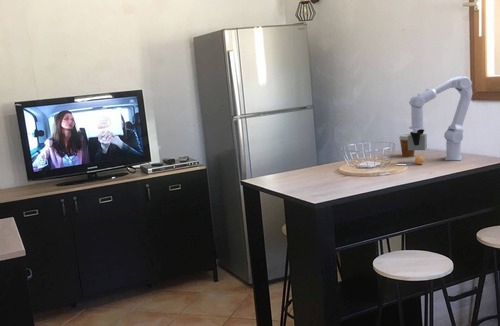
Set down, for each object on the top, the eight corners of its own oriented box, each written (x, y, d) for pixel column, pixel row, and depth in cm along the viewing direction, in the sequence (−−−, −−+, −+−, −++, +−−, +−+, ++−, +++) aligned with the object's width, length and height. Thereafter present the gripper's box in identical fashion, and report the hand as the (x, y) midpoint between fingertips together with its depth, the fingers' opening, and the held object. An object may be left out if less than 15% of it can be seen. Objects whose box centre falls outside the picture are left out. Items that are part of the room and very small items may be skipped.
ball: (416, 163, 284) (415, 155, 283) (424, 163, 282) (424, 155, 281) (414, 165, 280) (414, 156, 279) (423, 165, 278) (423, 157, 277)
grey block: (410, 148, 290) (409, 134, 288) (426, 148, 286) (426, 134, 284) (407, 150, 285) (407, 136, 283) (424, 150, 281) (424, 135, 279)
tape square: (398, 162, 290) (397, 161, 290) (413, 162, 286) (413, 162, 286) (394, 165, 283) (394, 165, 283) (410, 165, 279) (410, 165, 279)
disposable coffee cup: (395, 156, 307) (395, 135, 304) (408, 153, 311) (408, 133, 308) (407, 158, 298) (407, 137, 296) (420, 156, 302) (420, 135, 300)
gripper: (412, 117, 290) (412, 141, 293) (406, 120, 278) (407, 146, 280) (425, 116, 287) (425, 141, 290) (420, 120, 274) (421, 146, 277)
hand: (417, 144), depth 285 cm, fingers closed on grey block, 6 cm apart
